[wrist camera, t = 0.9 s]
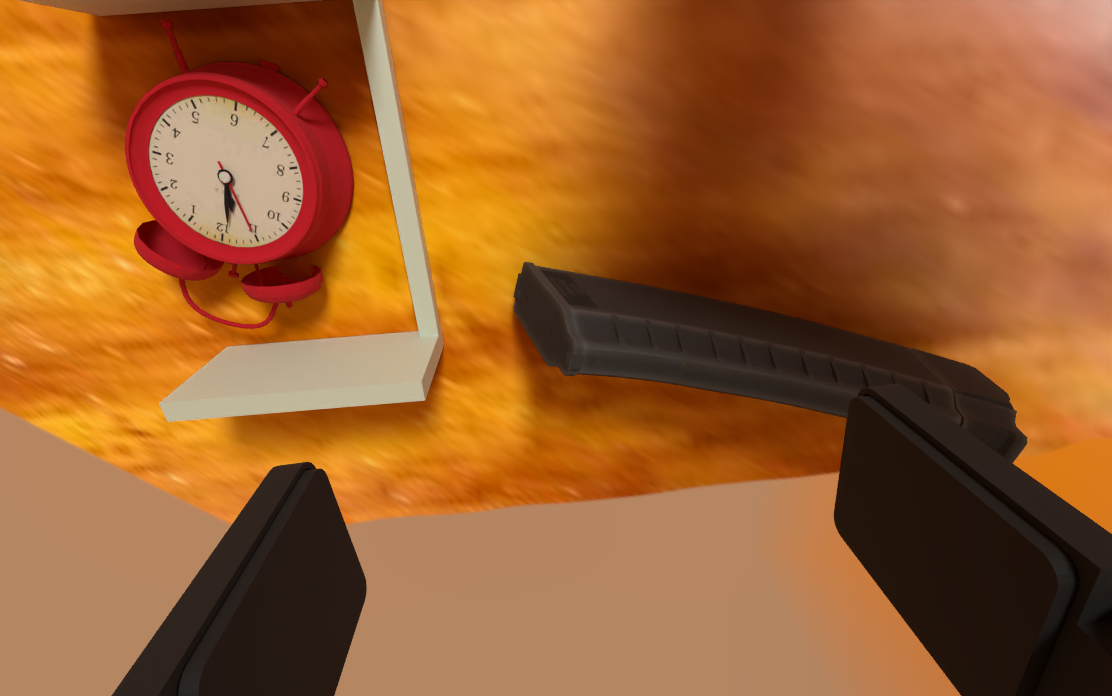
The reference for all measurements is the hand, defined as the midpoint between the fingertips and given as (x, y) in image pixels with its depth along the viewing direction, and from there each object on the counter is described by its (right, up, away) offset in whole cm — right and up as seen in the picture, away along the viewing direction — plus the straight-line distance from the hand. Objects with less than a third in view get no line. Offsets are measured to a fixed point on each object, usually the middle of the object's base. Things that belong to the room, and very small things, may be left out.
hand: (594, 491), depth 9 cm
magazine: (+12, +4, +26) cm, 29 cm away
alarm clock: (-18, +12, +21) cm, 30 cm away
